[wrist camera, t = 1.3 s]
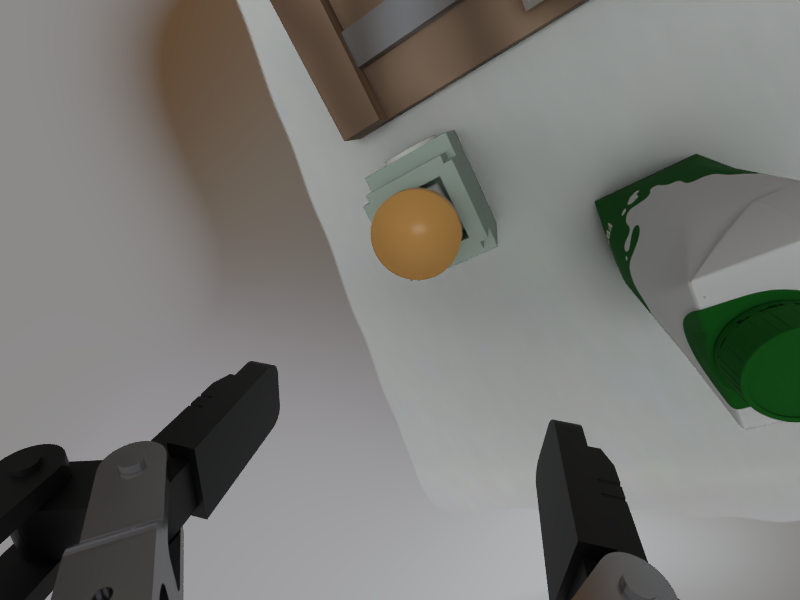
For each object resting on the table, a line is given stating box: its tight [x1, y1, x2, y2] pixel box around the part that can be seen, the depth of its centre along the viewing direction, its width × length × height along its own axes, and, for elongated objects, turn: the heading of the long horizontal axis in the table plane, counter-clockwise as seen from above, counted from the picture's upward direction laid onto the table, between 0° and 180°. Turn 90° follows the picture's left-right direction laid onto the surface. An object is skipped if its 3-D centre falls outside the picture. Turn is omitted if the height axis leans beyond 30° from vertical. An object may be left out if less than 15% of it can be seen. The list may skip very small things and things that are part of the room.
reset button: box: [371, 182, 463, 280], centre depth 23 cm, size 5×5×4 cm
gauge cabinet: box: [363, 130, 498, 281], centre depth 29 cm, size 6×8×10 cm
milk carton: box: [595, 154, 800, 429], centre depth 22 cm, size 9×9×20 cm
